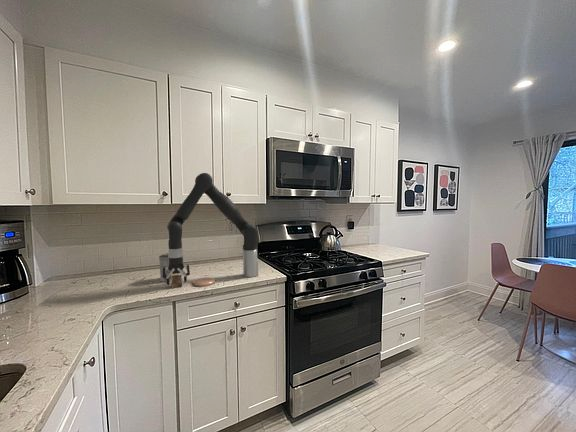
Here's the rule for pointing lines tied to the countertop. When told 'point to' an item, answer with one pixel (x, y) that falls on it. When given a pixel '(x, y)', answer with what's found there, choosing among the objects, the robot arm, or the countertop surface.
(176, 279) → the walnut block
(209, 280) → the dish
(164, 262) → the coffee box
